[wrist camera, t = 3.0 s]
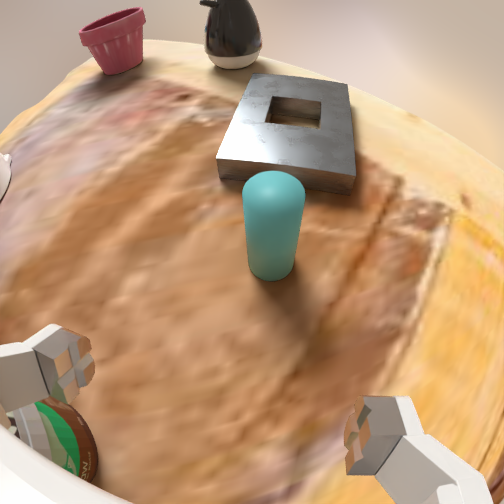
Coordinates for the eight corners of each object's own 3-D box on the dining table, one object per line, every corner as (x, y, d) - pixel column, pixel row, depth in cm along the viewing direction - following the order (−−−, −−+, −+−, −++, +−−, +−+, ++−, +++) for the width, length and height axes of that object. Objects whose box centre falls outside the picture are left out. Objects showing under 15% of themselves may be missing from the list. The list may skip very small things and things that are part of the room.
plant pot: (88, 73, 53) (73, 29, 41) (140, 49, 57) (130, 5, 46) (102, 87, 47) (84, 34, 36) (163, 59, 51) (153, 7, 40)
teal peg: (244, 277, 26) (236, 213, 18) (252, 238, 28) (248, 167, 20) (290, 284, 25) (302, 222, 18) (296, 244, 27) (307, 175, 20)
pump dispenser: (197, 63, 48) (187, -6, 35) (244, 50, 51) (240, -15, 37) (221, 80, 44) (213, -2, 30) (273, 66, 46) (273, -9, 33)
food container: (99, 526, 14) (31, 556, 5) (46, 493, 15) (-28, 503, 6) (123, 412, 20) (47, 404, 11) (67, 386, 21) (-12, 361, 12)
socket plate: (219, 178, 32) (216, 157, 29) (253, 89, 41) (253, 73, 39) (349, 195, 30) (356, 175, 28) (344, 100, 40) (347, 84, 37)
